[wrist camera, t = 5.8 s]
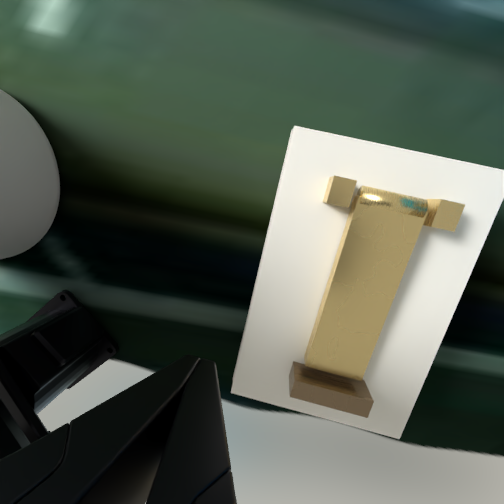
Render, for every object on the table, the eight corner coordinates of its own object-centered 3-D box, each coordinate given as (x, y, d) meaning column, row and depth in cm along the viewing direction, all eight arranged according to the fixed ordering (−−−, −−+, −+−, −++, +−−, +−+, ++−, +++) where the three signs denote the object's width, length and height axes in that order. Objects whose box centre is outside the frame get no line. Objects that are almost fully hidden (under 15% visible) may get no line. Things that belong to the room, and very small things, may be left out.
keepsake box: (289, 143, 17) (294, 112, 11) (448, 177, 17) (553, 166, 10) (241, 347, 21) (222, 415, 14) (371, 381, 20) (414, 469, 14)
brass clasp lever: (357, 185, 12) (363, 184, 11) (421, 199, 12) (433, 200, 11) (303, 355, 15) (305, 367, 14) (357, 369, 15) (362, 382, 14)
